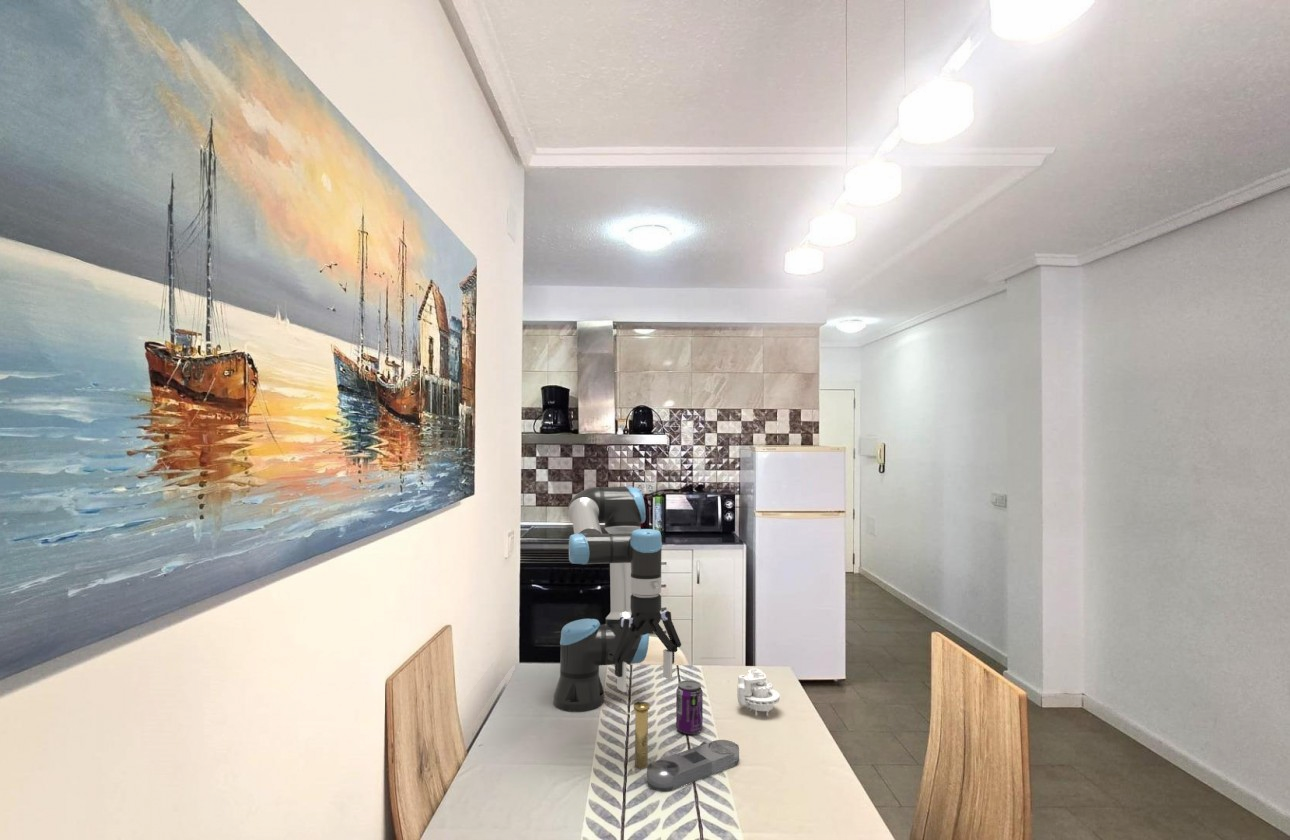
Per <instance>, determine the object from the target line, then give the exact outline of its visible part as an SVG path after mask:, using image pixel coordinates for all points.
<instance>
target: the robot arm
mask: <svg viewBox="0 0 1290 840" xmlns="http://www.w3.org/2000/svg"><path fill="white" fill-rule="evenodd" d="M643 495H644V494H643V493H642V491H641V489H639V488H638V487H631V486H593V487H589V488H586V489H584V490H582V491H580V492H578V493H577V494H576V495H575V496H574V497H572V498H571V500H570V502H569V503H568V506H567V516H568V519H569V521H570V522H571V524H572V528H573V534H571V535H570V536H569V537H568V561H569V562H570V563H571V564H575V565H576V564H577V565H594V564H595V565H596V564H600V565H601V564H609V577H610V578H609V579H610V585H609V587H610V591H609V592H610V595H609V596H610V612H609V614H608V615H607V616H606V617H605V623H604V624H601V623H600V621H599V620H598V619H596V618H582V619H576V620H573V621H570V622H568V623H566V624H565V625H564V626H563V627H562V628H561V631H560V641H559V644H560V663H559V666H560V667H559V669H560V670H559V677H558V680H557V681H558V682H557V684H556V687H555V691H554V694H553V705H554V706H555V707H556V708H557V709H559V710H563V711H565V712H574V713H575V712H579V713H581V712H587V711H592V710H595V709H598V708H599V707H602V705H604V703H605V691H604V687H603V685H602V681H601V680H602V679H601V677H600V673H599V672H600V670H599V669H600V666H614V675H615V677H617V679H616V680H617V681H616V688H617V689H618V690H619V691H621V692H622V693H626V692H627V665H633V664H640V663H644V661H645V659H646V657H647V654H648V650H649V645H650V644H649V641H650V634H653V633H654V634H655V635H656V637H657V638H658V639H659V640H660V642H661V643H662V644H663V646H664V647H665V649H663V651H662V652H663V654H662V658H663V660H662V661H663V662H662V664H663V667H662V668H663V669H662V672H663V673H662V675H663V678H666V679H668V680H670V681H671V680H673V665H674V663H675V653H677V652H678V648H681V647H682V642H681V639H680V637H679V635H678V632H677V630H676V628H675V626H674V623H673V621H672V612H671V611H669V610H665V609H662V595H661V593H662V553H663V552H662V550H663V549H662V548H663V541H662V534H661V531H660V530H658V529H653V528H641V527H642V526H641V524H643V523H645V521H646V504H645V500H644V496H643ZM601 524H604V530H605V531H606V532H607V533H603V532H602V528H601ZM661 621H662V624H663V626H664V629H665V630H666V631H664V629H663V628H662V626H661V625H660V622H661ZM665 632H666V633H667V634H666V633H665Z"/></svg>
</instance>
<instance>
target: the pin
mask: <svg viewBox="0 0 1290 840" xmlns="http://www.w3.org/2000/svg"><path fill="white" fill-rule="evenodd" d="M633 710H634V711H635V712H634V715H635V721H634V722H635V724H634V725H635V727H634V728H635V730H634V731H635V732H634V766H635V767H636V768H638V769H645V768H646V769H647V766H648V765H649V764H648V761H649V760H648V757H649V755H648V753H649V752H648V748H649V745H648V744H649V743H648V742H649V741H648V739H649V738H648V737H649V734H648V733H649V724H648V723H649V710H650V703H649V702H647V701H643V700H642V701H635V703H633Z"/></svg>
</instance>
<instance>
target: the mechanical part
mask: <svg viewBox="0 0 1290 840" xmlns="http://www.w3.org/2000/svg"><path fill="white" fill-rule="evenodd" d="M737 681H738V682H737V694H736V695H737V697H736V698H737V703H738V704H739V707H748V708H749V712H753V711H754V715H755V717H758V712H766V713H765V714H766V715H765V716H766V717H769V712H770V711H771V710H773V709H774V705H776V704H778V703H779V702H780V693H779V692H778V691H776V690H775V689H773V688H774V687H773V686H774V685H773V684H772V682H769V681H767V675H766V673H764V672H763V671H762V670H761V669H759V668H755V667H754V668H750V669H748V671H747V675H746V674H745V675H744V674H741V675H740V674H739V675H738V677H737Z"/></svg>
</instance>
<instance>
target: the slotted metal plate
mask: <svg viewBox="0 0 1290 840" xmlns="http://www.w3.org/2000/svg"><path fill="white" fill-rule="evenodd" d="M739 763H740V746H739V745H738V744H737V743H736V742H733V741H730V740H727V739H715V740H712V741H709V742H706V744H703V745H700V744H699V745H697V746H695V747H693V748H692V747H691V748H690V749H687V750H683V751H681V752H677V753H674V754H672V755H669V756H666V757H663V758H660V759H658V760H655V761H651V762H649V764H648V766H647V767H646V785H647V786H648V787H649V788H650V789H652V790H654V791H656V792H662V793H663V792H665V793H666V792H671V791H674V790H676V789H680V788H682V787H685V786H687V785H690V784H692V783H695V782H697V780H698V781H700V780H702V779H701V778H703V779H705V778H707V776H708V777H710V776H712V775H716V774H718V773H720V772H723V771H725V770H728V769H731V768H734V767H736V766H737V765H738V764H739ZM715 773H716V774H715ZM699 779H700V780H699ZM694 781H695V782H694ZM689 783H690V784H689ZM686 784H687V785H686ZM684 785H685V786H684ZM681 786H682V787H681Z"/></svg>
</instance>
